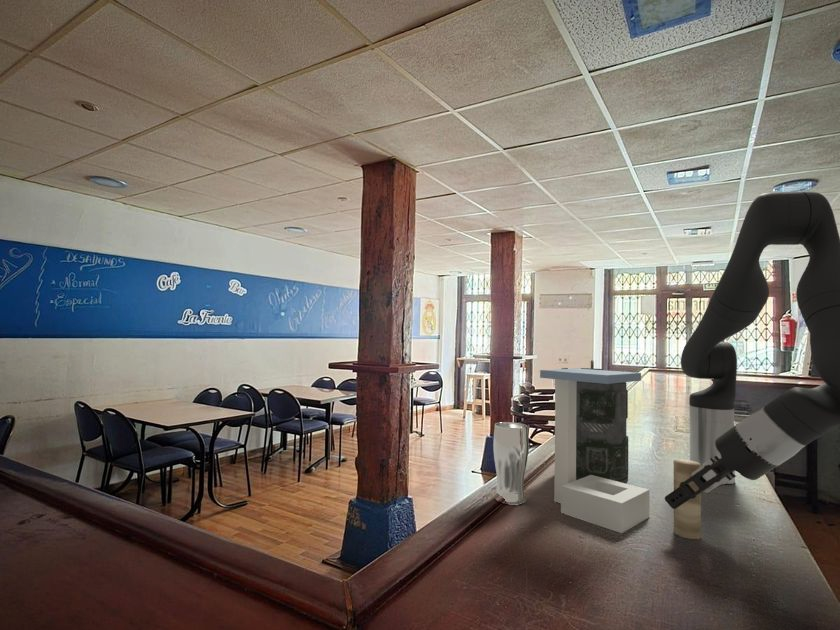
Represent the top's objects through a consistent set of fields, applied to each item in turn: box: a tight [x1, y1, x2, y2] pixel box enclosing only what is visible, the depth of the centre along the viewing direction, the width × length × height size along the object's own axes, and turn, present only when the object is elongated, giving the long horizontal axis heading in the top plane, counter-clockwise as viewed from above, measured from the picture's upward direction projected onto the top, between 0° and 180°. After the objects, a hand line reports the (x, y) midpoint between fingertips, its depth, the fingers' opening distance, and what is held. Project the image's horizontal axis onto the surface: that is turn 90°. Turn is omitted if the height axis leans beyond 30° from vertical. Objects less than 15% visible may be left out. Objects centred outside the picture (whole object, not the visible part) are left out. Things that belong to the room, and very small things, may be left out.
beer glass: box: [492, 421, 529, 504], centre depth 92 cm, size 7×7×15 cm
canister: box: [561, 359, 629, 484], centre depth 107 cm, size 16×16×28 cm
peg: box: [673, 458, 702, 540], centre depth 77 cm, size 4×4×12 cm
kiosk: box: [539, 368, 651, 534], centre depth 87 cm, size 14×16×26 cm
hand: (677, 498), depth 78 cm, fingers open, 7 cm apart
